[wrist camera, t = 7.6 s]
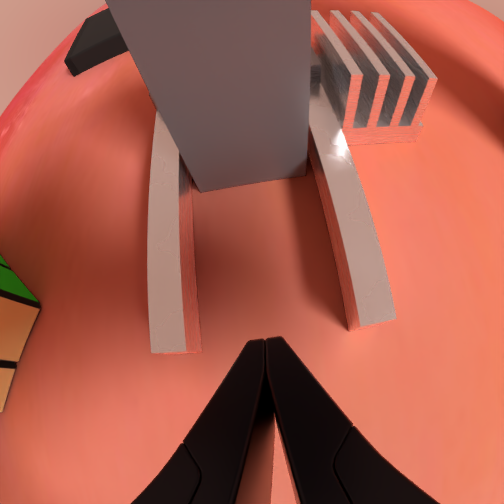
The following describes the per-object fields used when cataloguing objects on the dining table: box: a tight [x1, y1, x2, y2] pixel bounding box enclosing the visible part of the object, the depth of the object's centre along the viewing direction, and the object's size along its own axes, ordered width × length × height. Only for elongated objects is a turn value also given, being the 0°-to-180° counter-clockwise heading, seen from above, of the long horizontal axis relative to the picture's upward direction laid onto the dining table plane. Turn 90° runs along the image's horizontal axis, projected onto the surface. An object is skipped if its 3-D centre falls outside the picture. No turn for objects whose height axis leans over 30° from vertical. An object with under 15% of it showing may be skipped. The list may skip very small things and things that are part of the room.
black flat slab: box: [64, 8, 129, 77], centre depth 26 cm, size 14×23×3 cm, turn 104°
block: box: [105, 0, 311, 193], centre depth 12 cm, size 10×6×13 cm, turn 7°
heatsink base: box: [147, 10, 438, 354], centre depth 14 cm, size 18×16×6 cm
